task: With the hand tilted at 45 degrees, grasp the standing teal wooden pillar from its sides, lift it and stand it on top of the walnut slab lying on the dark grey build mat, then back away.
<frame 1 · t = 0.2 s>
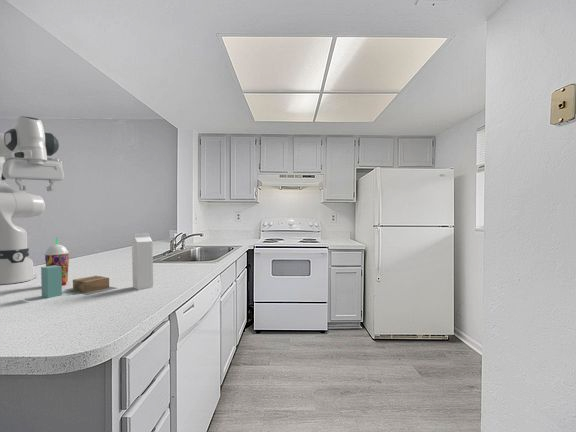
hand: (36, 190, 135), 39 cm above the counter, tool pointing down, fingers open, 8 cm apart
build mat: (91, 289, 131), on the counter
smoothie: (57, 286, 138), on the counter
milk: (142, 288, 134), on the counter
pillar: (51, 297, 121), on the counter
base slab: (91, 288, 131), resting on build mat
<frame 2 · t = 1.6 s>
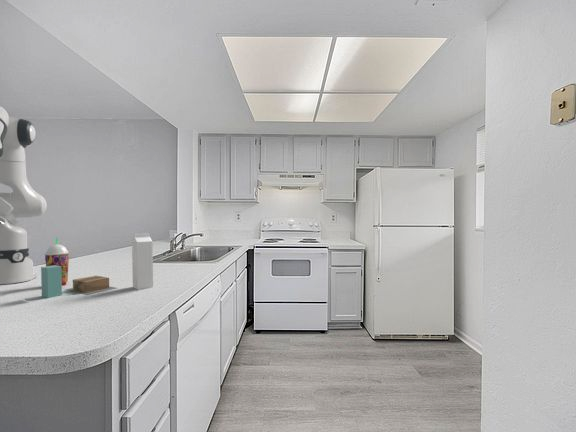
hand: (9, 223, 110), 27 cm above the counter, tool tilted 45°, fingers open, 8 cm apart
nothing on the counter moved.
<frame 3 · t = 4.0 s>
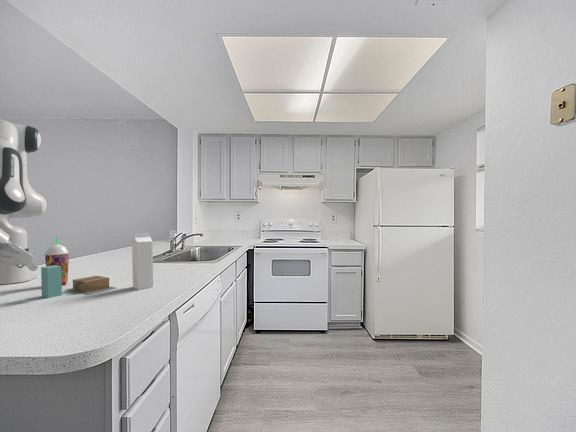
hand: (29, 268, 115), 12 cm above the counter, tool tilted 45°, fingers open, 8 cm apart
nothing on the counter moved.
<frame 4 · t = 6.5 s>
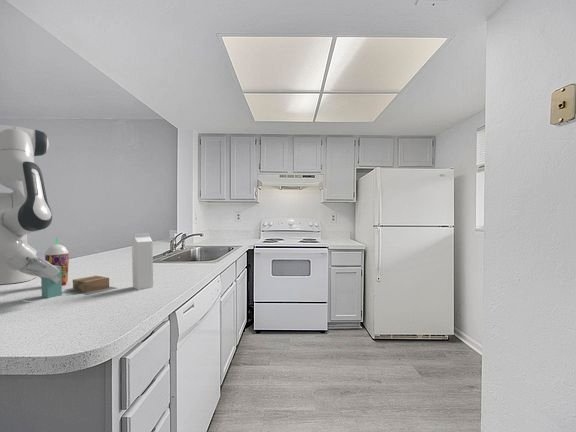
hand: (53, 280, 121), 6 cm above the counter, tool tilted 45°, fingers closed on pillar, 4 cm apart
pillar: (51, 297, 121), on the counter, touching gripper
everything else where it was.
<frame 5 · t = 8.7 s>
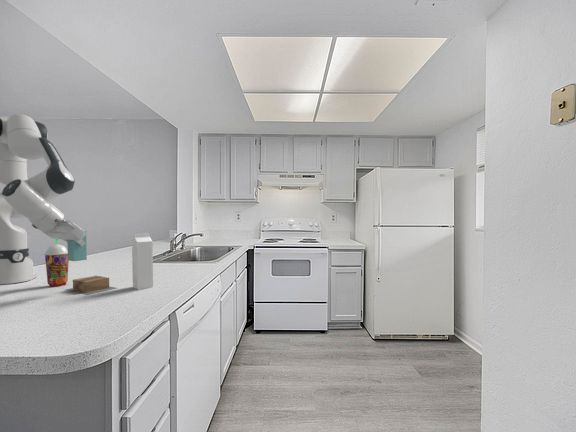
hand: (78, 244, 127), 18 cm above the counter, tool tilted 45°, fingers closed on pillar, 4 cm apart
pillar: (77, 260, 127), point 12 cm above the counter, touching gripper
everything else where it was.
when the fingers open (12 cm above the counter, at t = 11.1 s): pillar drops 1 cm, resting on base slab.
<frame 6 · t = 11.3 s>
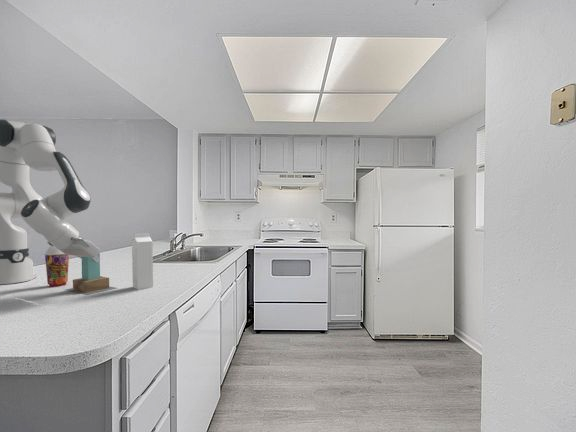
hand: (92, 260, 131), 12 cm above the counter, tool tilted 45°, fingers open, 6 cm apart
pillar: (91, 278, 131), point 4 cm above the counter, touching base slab
base slab: (91, 288, 131), resting on build mat, touching pillar
everything else where it was.
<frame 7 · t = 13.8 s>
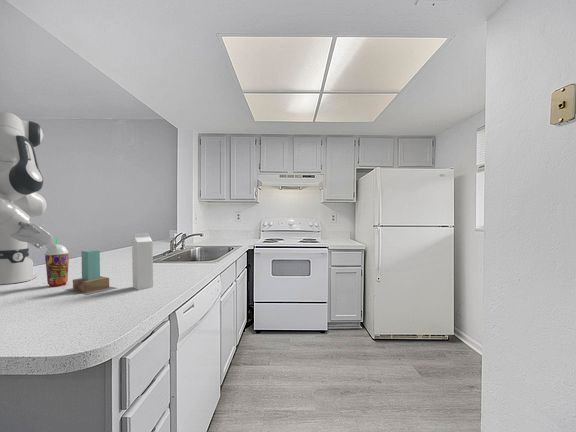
hand: (47, 248, 119), 18 cm above the counter, tool tilted 45°, fingers open, 8 cm apart
nothing on the counter moved.
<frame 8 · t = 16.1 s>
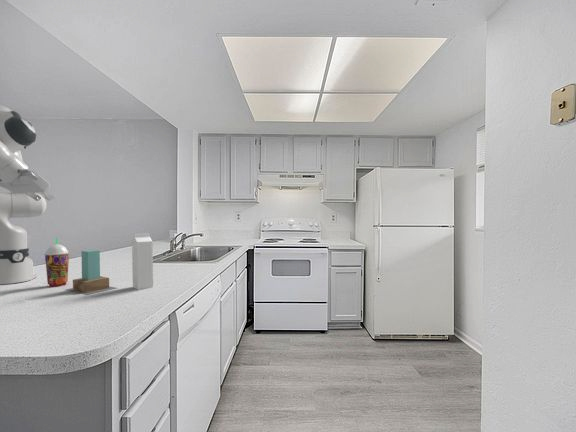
hand: (45, 199, 125), 35 cm above the counter, tool tilted 45°, fingers open, 8 cm apart
nothing on the counter moved.
at the end: pillar inside the target area on the base slab (0.1 cm from its centre), point 4.0 cm above the base slab's base; pillar tilted 0°; the gripper is holding nothing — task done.
